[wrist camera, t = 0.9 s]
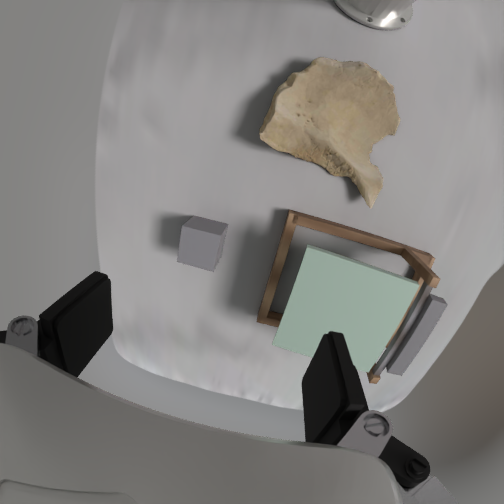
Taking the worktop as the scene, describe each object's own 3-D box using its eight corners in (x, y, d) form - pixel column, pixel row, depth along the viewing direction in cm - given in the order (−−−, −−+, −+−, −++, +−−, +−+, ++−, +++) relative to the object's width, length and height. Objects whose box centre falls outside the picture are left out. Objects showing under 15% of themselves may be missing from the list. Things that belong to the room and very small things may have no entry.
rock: (416, 111, 28) (431, 111, 25) (365, 199, 35) (376, 209, 31) (306, 40, 26) (310, 30, 22) (253, 135, 33) (250, 137, 29)
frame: (289, 209, 36) (292, 236, 25) (429, 253, 36) (465, 287, 25) (257, 314, 42) (250, 363, 32) (384, 340, 42) (402, 385, 32)
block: (193, 215, 37) (181, 225, 33) (228, 224, 37) (220, 235, 33) (188, 247, 39) (177, 261, 35) (221, 256, 39) (213, 271, 35)
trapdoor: (307, 243, 30) (306, 247, 28) (446, 291, 27) (451, 297, 25) (273, 338, 35) (271, 346, 34) (396, 372, 32) (397, 380, 31)
